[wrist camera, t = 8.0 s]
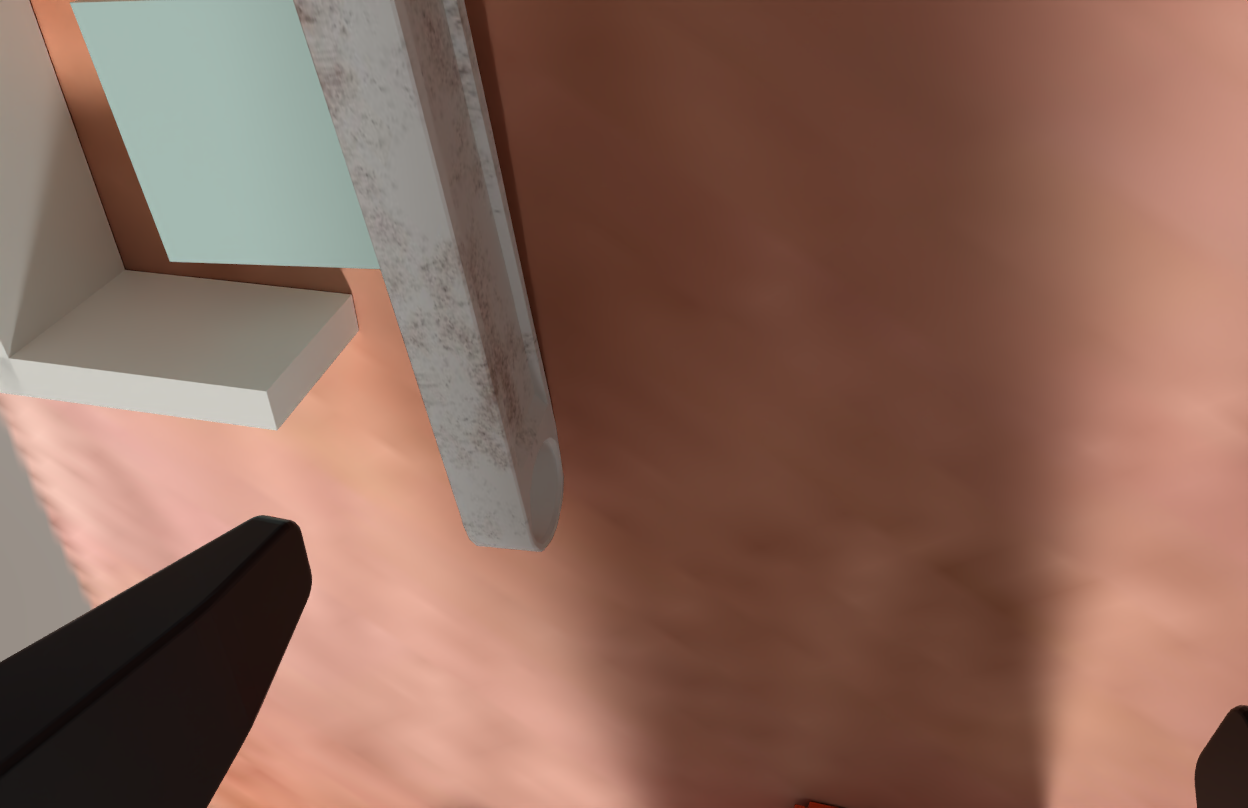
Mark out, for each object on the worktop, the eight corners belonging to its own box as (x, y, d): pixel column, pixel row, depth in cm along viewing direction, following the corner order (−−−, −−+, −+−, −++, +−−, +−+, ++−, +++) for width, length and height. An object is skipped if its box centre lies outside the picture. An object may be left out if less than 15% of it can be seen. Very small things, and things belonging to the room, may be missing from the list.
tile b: (403, -44, 18) (332, -6, 15) (450, 205, 21) (396, 270, 18) (170, -35, 19) (69, 2, 16) (246, 201, 22) (170, 261, 19)
